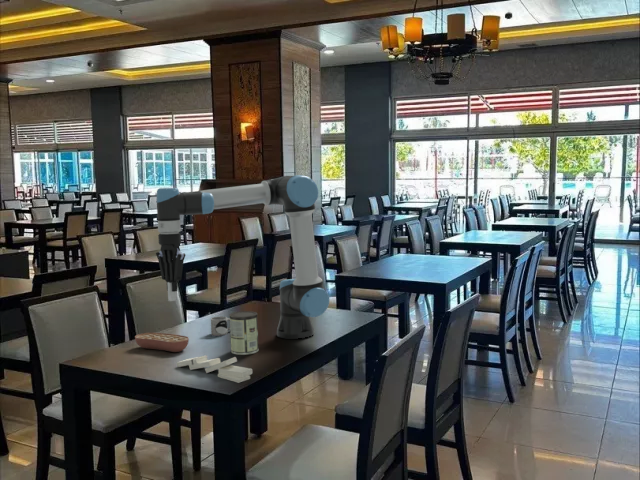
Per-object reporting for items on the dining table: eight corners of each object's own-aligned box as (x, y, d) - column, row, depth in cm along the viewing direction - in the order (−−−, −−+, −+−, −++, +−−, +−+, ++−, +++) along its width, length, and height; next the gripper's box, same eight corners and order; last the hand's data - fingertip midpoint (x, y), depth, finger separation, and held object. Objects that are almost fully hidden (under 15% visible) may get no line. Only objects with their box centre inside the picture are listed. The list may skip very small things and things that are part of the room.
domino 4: (228, 369, 209) (252, 373, 204) (218, 373, 205) (242, 377, 200) (228, 364, 209) (252, 368, 204) (218, 368, 205) (242, 372, 200)
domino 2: (200, 366, 217) (220, 362, 211) (190, 369, 213) (209, 366, 207) (199, 361, 217) (219, 357, 211) (188, 365, 213) (208, 361, 207)
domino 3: (216, 369, 213) (237, 361, 208) (206, 373, 209) (227, 365, 203) (214, 364, 213) (235, 356, 208) (204, 368, 209) (225, 360, 204)
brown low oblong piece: (130, 350, 241) (129, 337, 240) (148, 343, 249) (147, 331, 249) (178, 356, 230) (178, 342, 230) (195, 349, 239) (194, 336, 239)
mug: (216, 336, 257) (216, 320, 257) (208, 334, 262) (207, 318, 262) (237, 332, 264) (236, 316, 263) (228, 329, 269) (228, 314, 268)
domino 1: (188, 363, 220) (207, 360, 214) (177, 367, 216) (196, 363, 210) (187, 358, 220) (206, 355, 214) (176, 362, 216) (195, 358, 210)
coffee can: (238, 346, 241) (237, 310, 240) (263, 348, 238) (261, 311, 236) (225, 353, 231) (224, 316, 230) (251, 355, 228) (250, 317, 227)
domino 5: (229, 375, 208) (250, 380, 202) (217, 378, 205) (238, 384, 198) (229, 370, 208) (250, 375, 202) (217, 374, 204) (238, 379, 198)
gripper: (148, 233, 218) (151, 300, 220) (173, 234, 210) (176, 304, 212) (165, 231, 224) (169, 296, 226) (190, 232, 216) (193, 300, 218)
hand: (172, 300), depth 219 cm, fingers closed
